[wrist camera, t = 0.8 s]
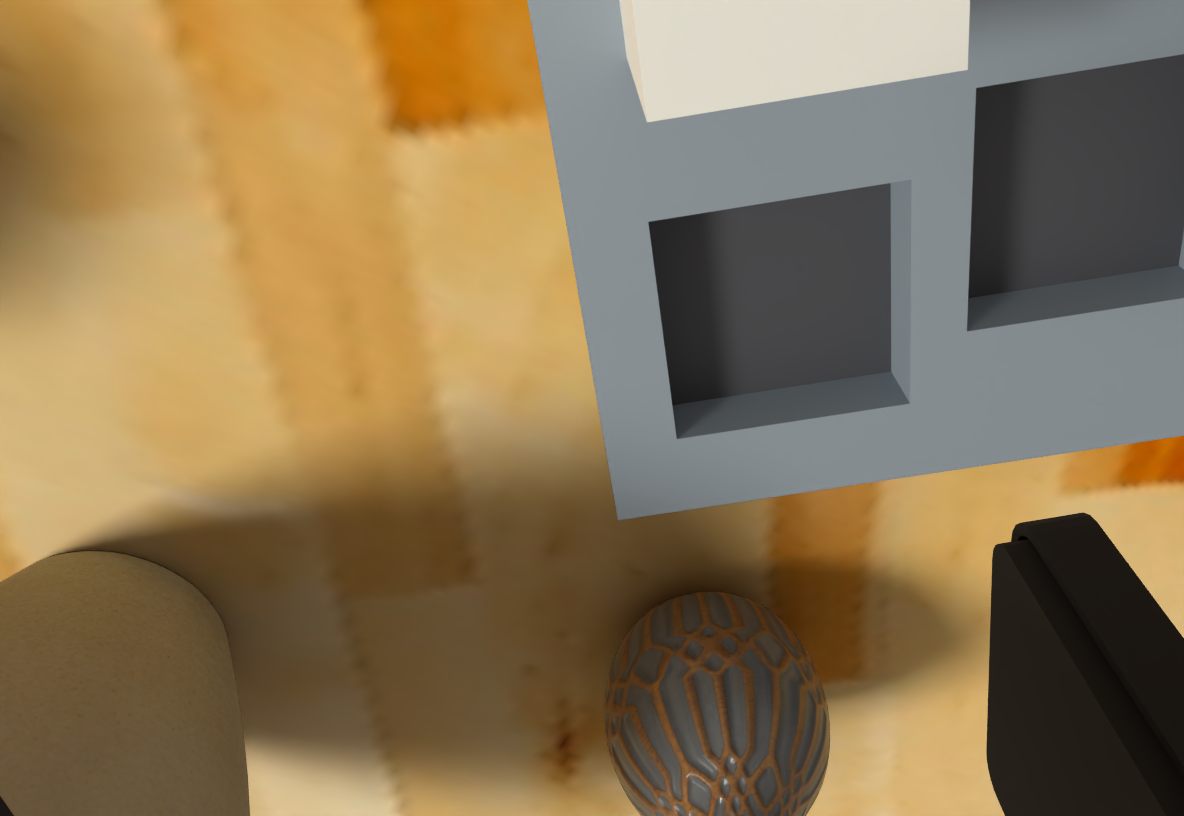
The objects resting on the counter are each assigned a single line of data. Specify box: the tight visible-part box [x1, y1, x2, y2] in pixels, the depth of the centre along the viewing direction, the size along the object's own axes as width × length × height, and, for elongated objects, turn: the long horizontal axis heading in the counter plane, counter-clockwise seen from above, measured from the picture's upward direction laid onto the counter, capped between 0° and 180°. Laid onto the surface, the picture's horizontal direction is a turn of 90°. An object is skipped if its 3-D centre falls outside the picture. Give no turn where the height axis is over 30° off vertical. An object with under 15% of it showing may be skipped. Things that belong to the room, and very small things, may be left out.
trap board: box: [527, 0, 1184, 520], centre depth 25 cm, size 20×25×4 cm
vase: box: [604, 592, 830, 816], centre depth 33 cm, size 7×7×9 cm
